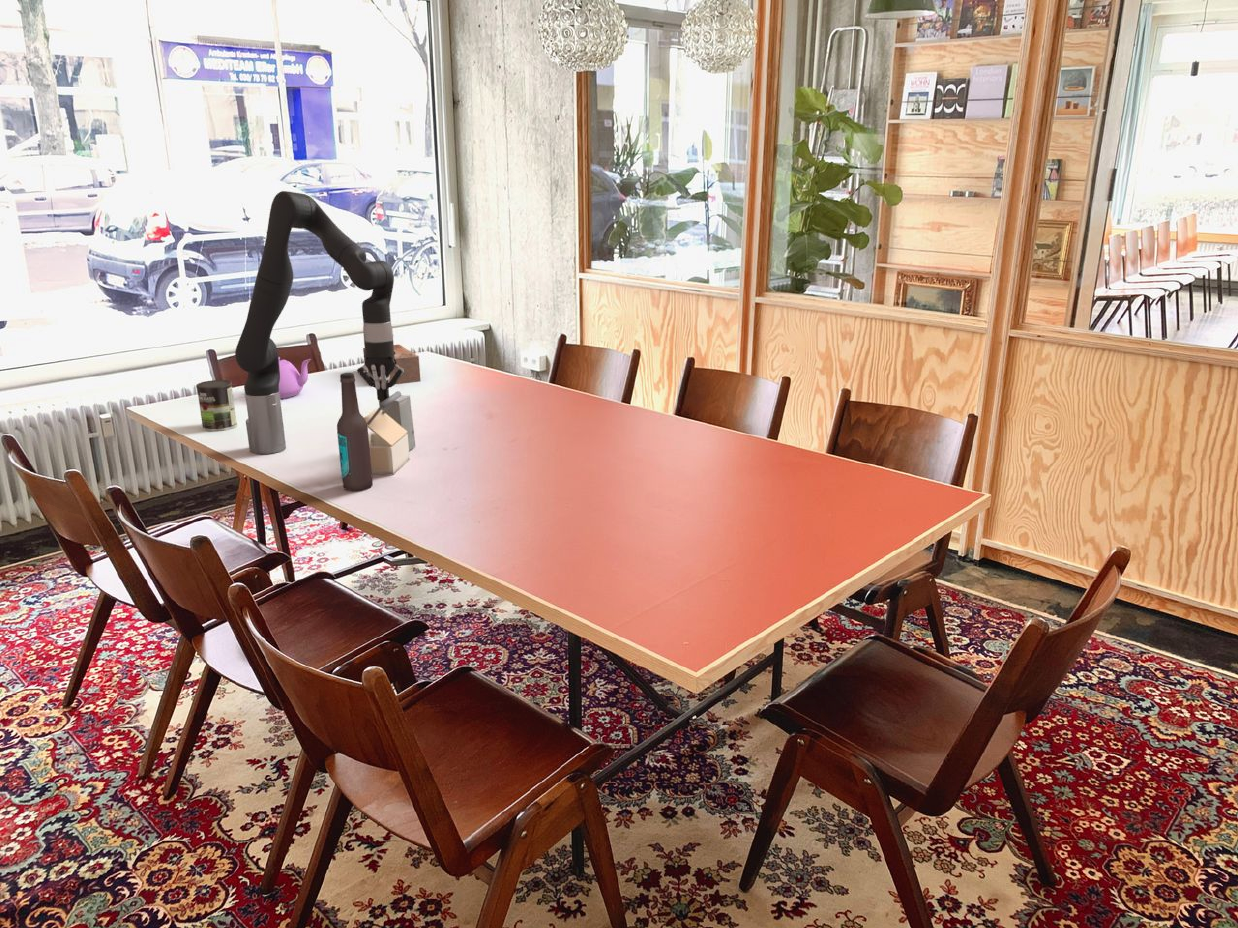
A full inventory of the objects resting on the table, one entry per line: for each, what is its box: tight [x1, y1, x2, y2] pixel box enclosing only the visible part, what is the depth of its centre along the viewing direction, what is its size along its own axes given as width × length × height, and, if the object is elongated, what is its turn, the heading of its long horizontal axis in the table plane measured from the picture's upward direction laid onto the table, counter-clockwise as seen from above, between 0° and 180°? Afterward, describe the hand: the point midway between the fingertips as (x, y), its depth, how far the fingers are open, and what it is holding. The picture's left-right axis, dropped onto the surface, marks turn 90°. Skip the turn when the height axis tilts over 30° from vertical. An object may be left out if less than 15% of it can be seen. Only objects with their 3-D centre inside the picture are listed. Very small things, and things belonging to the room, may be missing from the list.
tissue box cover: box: [362, 344, 421, 385], centre depth 358 cm, size 26×14×10 cm, turn 29°
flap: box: [363, 390, 407, 446], centre depth 252 cm, size 10×13×8 cm
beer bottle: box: [336, 372, 374, 492], centre depth 236 cm, size 8×8×30 cm
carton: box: [368, 432, 411, 476], centre depth 255 cm, size 11×14×8 cm
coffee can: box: [195, 379, 238, 432], centre depth 292 cm, size 10×10×14 cm
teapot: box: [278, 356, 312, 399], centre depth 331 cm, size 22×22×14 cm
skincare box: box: [378, 394, 416, 452], centre depth 268 cm, size 8×7×16 cm
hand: (383, 401), depth 251 cm, fingers closed
